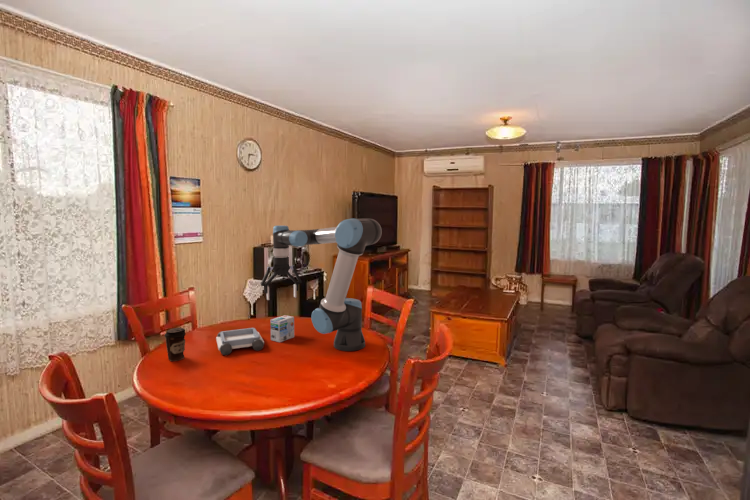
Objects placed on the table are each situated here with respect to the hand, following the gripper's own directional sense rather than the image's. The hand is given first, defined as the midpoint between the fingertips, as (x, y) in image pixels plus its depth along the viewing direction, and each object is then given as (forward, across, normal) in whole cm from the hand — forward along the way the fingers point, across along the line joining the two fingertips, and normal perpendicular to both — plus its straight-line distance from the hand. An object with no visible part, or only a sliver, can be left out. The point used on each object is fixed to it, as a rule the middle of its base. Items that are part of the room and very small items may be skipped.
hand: (281, 298), depth 196 cm
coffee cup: (+21, +48, +8) cm, 53 cm away
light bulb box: (+21, 0, 0) cm, 21 cm away
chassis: (+21, +21, +2) cm, 30 cm away
